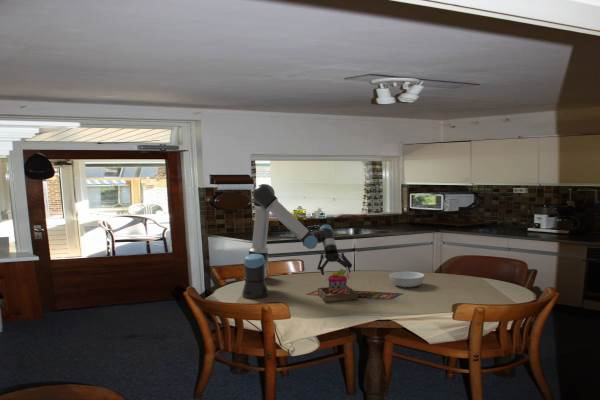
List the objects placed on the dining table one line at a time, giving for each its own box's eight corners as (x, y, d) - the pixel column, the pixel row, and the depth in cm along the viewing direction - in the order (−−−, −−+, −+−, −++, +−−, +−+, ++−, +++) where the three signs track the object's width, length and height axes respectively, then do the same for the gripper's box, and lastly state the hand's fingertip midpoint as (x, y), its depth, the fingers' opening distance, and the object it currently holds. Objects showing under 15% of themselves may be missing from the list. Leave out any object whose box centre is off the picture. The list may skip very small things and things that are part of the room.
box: (317, 294, 268) (317, 288, 268) (347, 292, 272) (347, 285, 271) (325, 303, 250) (325, 295, 250) (357, 300, 254) (357, 293, 254)
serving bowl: (409, 280, 297) (409, 269, 297) (432, 287, 278) (431, 275, 278) (382, 284, 288) (382, 273, 288) (404, 291, 269) (404, 280, 269)
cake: (337, 299, 253) (337, 272, 252) (324, 296, 261) (324, 269, 260) (351, 296, 259) (350, 269, 258) (337, 292, 267) (337, 267, 267)
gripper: (349, 250, 280) (357, 280, 266) (308, 252, 275) (314, 283, 261) (351, 243, 274) (360, 273, 260) (310, 245, 269) (316, 276, 256)
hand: (337, 278), depth 261 cm, fingers open, 13 cm apart
